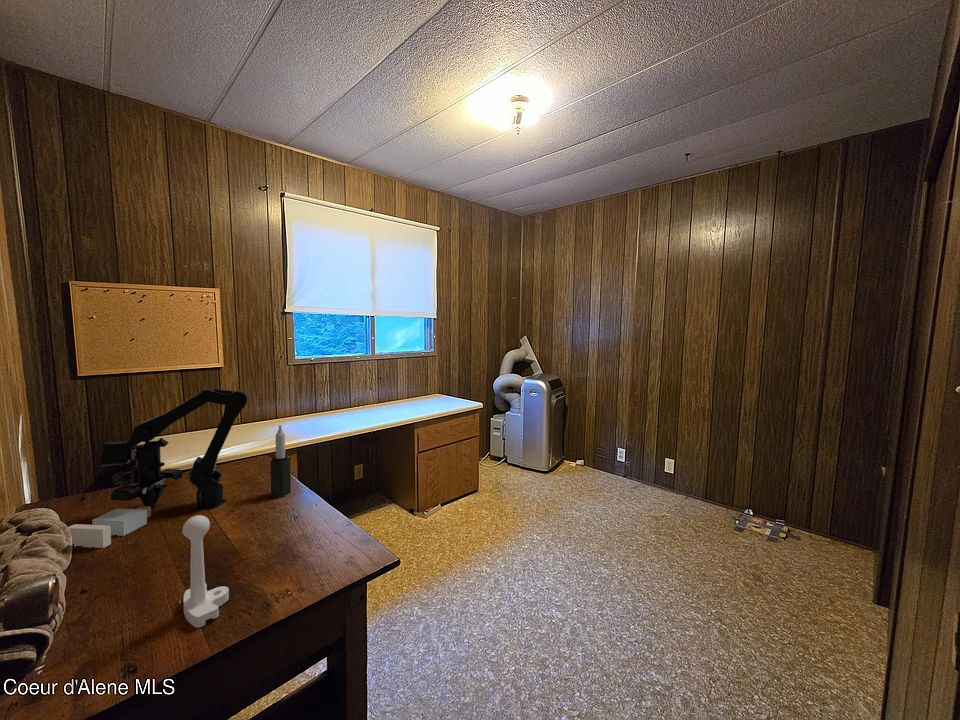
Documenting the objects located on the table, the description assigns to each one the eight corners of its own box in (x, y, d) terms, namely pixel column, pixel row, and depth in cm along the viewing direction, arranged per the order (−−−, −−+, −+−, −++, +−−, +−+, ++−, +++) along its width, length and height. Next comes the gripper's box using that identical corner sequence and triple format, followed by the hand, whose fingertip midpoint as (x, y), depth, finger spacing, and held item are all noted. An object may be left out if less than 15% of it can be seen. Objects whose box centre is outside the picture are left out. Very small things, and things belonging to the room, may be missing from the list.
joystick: (179, 602, 80) (177, 511, 79) (221, 586, 86) (219, 500, 84) (190, 631, 73) (188, 530, 71) (236, 611, 78) (234, 517, 77)
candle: (281, 498, 132) (281, 427, 130) (269, 496, 133) (268, 426, 131) (292, 492, 137) (291, 423, 135) (279, 490, 138) (279, 422, 136)
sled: (147, 523, 112) (146, 509, 112) (123, 535, 105) (123, 521, 105) (117, 522, 112) (117, 508, 112) (92, 534, 106) (92, 519, 105)
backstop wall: (111, 543, 101) (110, 525, 101) (103, 548, 99) (102, 529, 99) (75, 542, 102) (74, 524, 101) (66, 546, 100) (66, 527, 99)
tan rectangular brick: (151, 515, 117) (150, 506, 117) (131, 525, 111) (131, 515, 111) (141, 515, 117) (141, 505, 117) (122, 525, 111) (121, 515, 111)
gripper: (151, 451, 127) (152, 496, 128) (91, 471, 108) (93, 523, 109) (183, 452, 126) (184, 498, 127) (128, 472, 108) (130, 525, 109)
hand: (150, 510), depth 118 cm, fingers closed
